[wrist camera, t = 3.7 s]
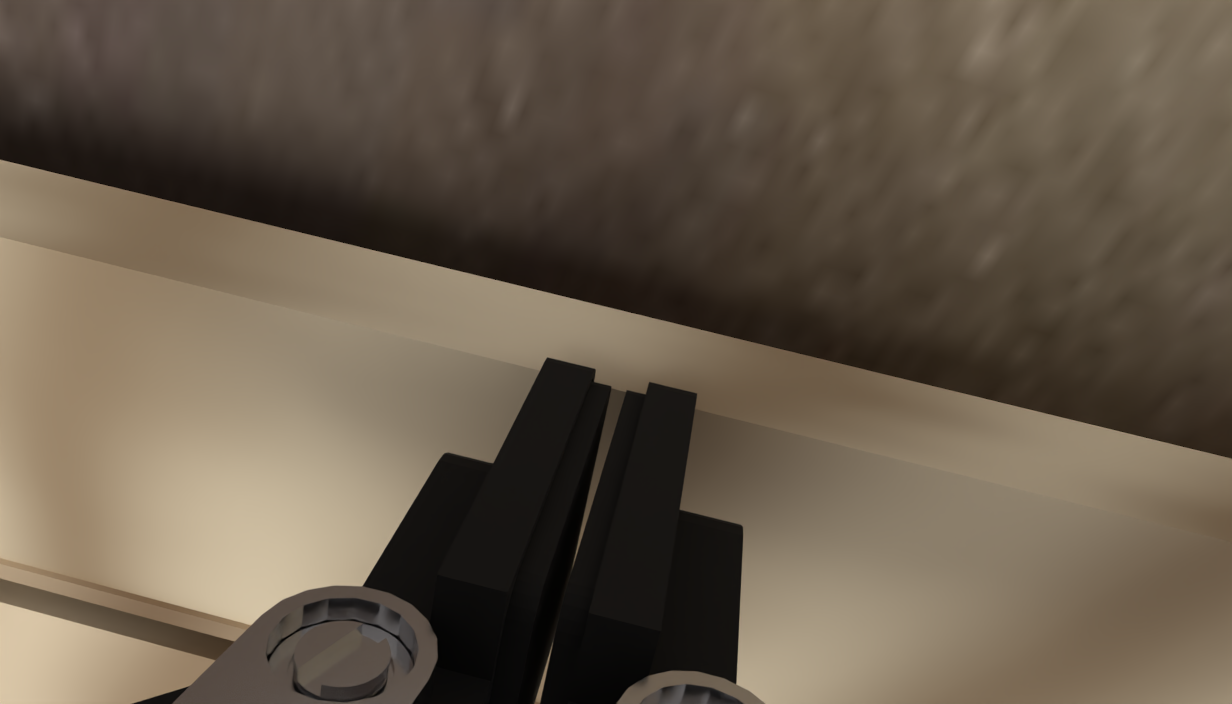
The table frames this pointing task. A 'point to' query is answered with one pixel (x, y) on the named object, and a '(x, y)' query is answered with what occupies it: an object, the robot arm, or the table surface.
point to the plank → (625, 360)
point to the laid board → (92, 651)
